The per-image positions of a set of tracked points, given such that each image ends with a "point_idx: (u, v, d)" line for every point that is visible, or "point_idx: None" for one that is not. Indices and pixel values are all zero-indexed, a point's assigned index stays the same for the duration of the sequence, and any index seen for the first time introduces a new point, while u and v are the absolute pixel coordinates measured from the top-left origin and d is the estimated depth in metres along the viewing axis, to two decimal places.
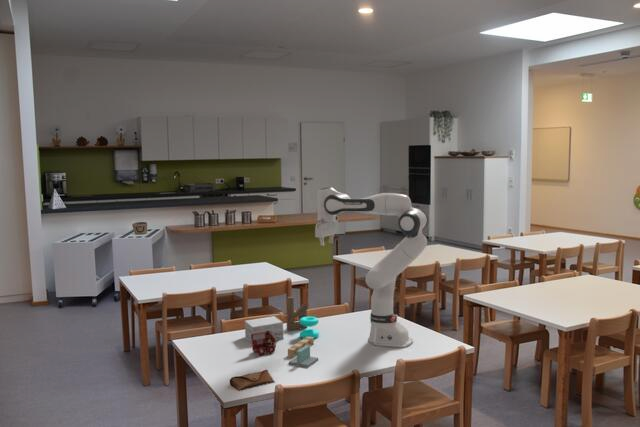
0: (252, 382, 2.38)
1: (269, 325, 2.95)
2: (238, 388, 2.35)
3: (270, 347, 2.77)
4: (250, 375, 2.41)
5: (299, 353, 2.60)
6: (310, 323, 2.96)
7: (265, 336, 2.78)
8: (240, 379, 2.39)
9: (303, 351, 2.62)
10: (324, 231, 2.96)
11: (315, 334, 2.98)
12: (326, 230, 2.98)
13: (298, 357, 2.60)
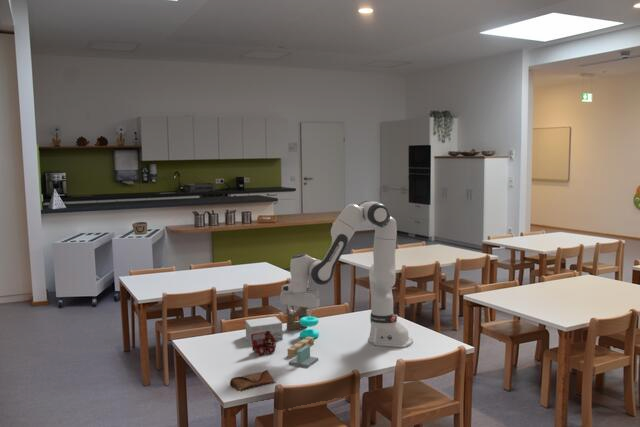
0: (253, 383, 2.38)
1: (268, 325, 2.95)
2: (238, 389, 2.34)
3: (270, 347, 2.77)
4: (251, 376, 2.41)
5: (299, 353, 2.60)
6: (310, 323, 2.96)
7: (265, 336, 2.78)
8: (241, 380, 2.38)
9: (303, 351, 2.62)
10: None
11: (315, 334, 2.98)
12: None
13: (298, 357, 2.60)
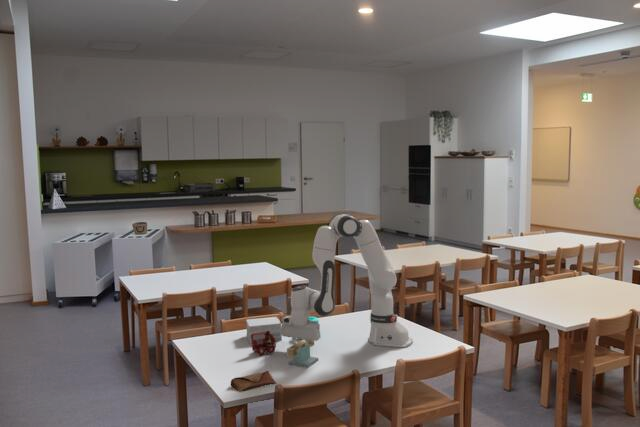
0: (253, 383, 2.37)
1: (266, 325, 2.95)
2: (239, 389, 2.34)
3: (270, 347, 2.77)
4: (251, 376, 2.40)
5: (299, 353, 2.60)
6: None
7: (265, 336, 2.78)
8: (241, 380, 2.38)
9: (303, 351, 2.62)
10: None
11: None
12: None
13: (298, 357, 2.60)
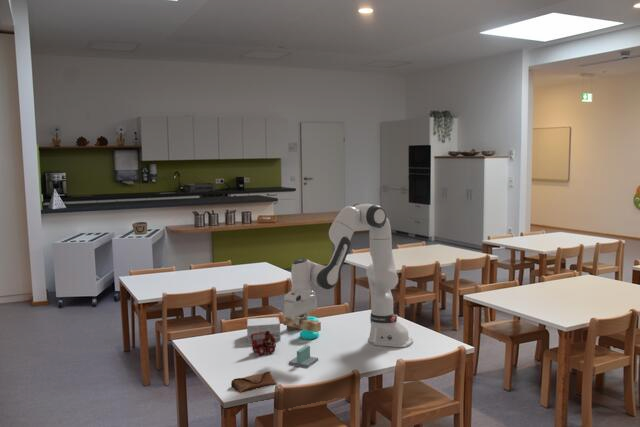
0: (254, 384, 2.36)
1: (265, 325, 2.94)
2: (239, 390, 2.33)
3: (270, 347, 2.77)
4: (252, 377, 2.39)
5: (299, 353, 2.60)
6: None
7: (265, 336, 2.78)
8: (242, 381, 2.37)
9: (303, 351, 2.62)
10: None
11: (315, 334, 2.98)
12: None
13: (298, 357, 2.60)
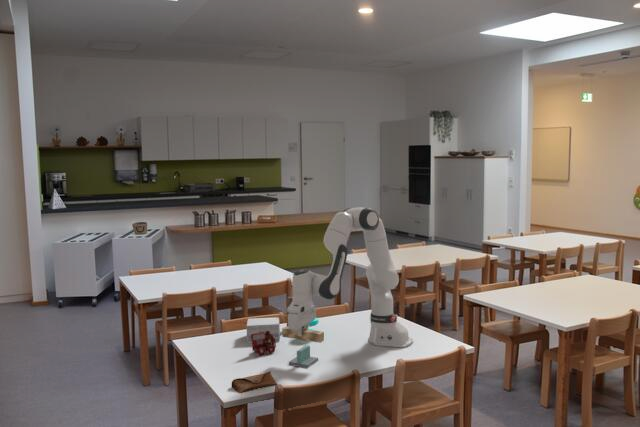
0: (254, 384, 2.36)
1: (264, 326, 2.94)
2: (239, 390, 2.33)
3: (270, 347, 2.77)
4: (252, 377, 2.39)
5: (299, 353, 2.60)
6: (310, 323, 2.96)
7: (265, 336, 2.78)
8: (242, 381, 2.37)
9: (303, 351, 2.62)
10: None
11: None
12: None
13: (298, 357, 2.60)
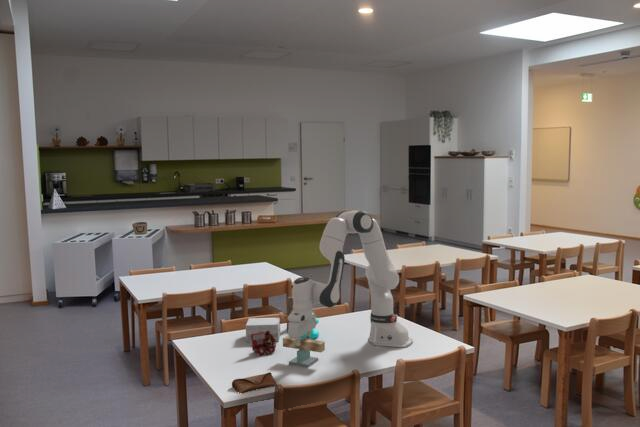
0: (254, 385, 2.35)
1: (263, 326, 2.94)
2: (240, 391, 2.32)
3: (270, 347, 2.77)
4: (252, 378, 2.38)
5: (299, 353, 2.60)
6: None
7: (265, 336, 2.78)
8: (243, 382, 2.36)
9: (303, 351, 2.62)
10: None
11: (315, 334, 2.98)
12: None
13: (298, 357, 2.60)
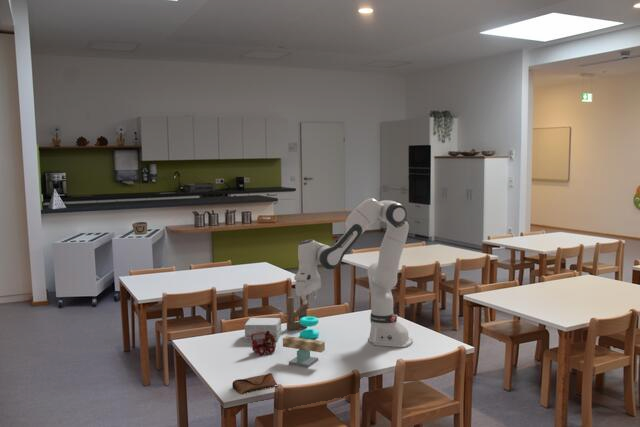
0: (254, 386, 2.34)
1: (262, 326, 2.94)
2: (240, 391, 2.32)
3: (270, 347, 2.77)
4: (253, 378, 2.38)
5: (299, 353, 2.60)
6: (310, 323, 2.96)
7: (265, 336, 2.78)
8: (243, 382, 2.36)
9: (303, 351, 2.62)
10: None
11: (315, 334, 2.98)
12: None
13: (298, 357, 2.60)
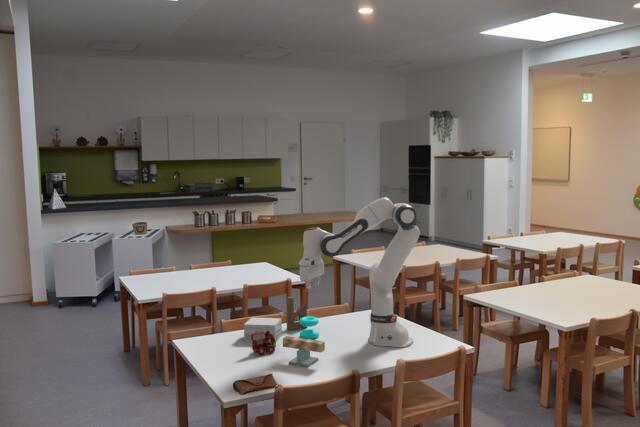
0: (255, 386, 2.34)
1: (261, 326, 2.94)
2: (240, 392, 2.31)
3: (270, 347, 2.77)
4: (254, 379, 2.37)
5: (299, 353, 2.60)
6: (310, 323, 2.96)
7: (265, 336, 2.78)
8: (244, 383, 2.35)
9: (303, 351, 2.62)
10: None
11: (315, 334, 2.98)
12: None
13: (298, 357, 2.60)
